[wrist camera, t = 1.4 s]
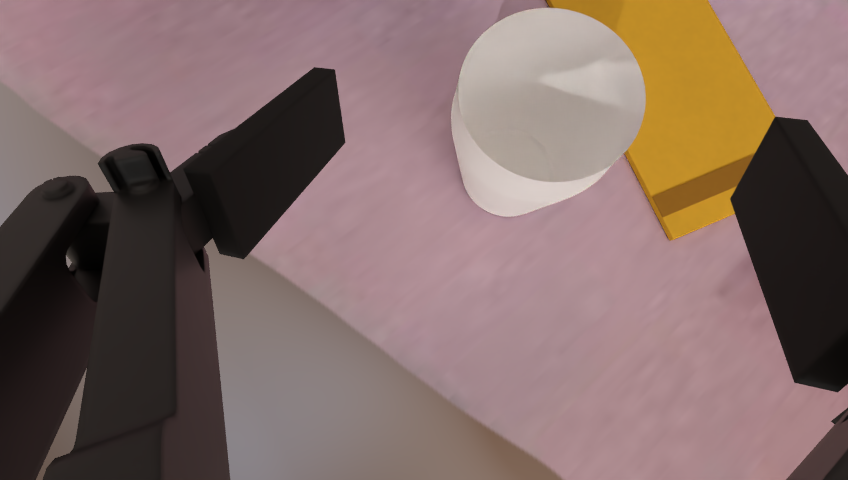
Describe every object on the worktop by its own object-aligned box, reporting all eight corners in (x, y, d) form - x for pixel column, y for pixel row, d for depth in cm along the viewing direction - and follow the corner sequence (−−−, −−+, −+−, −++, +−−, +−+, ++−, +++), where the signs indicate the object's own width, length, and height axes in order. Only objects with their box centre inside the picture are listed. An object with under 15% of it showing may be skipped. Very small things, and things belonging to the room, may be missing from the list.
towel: (516, -56, 36) (518, -64, 35) (640, -103, 36) (644, -112, 35) (669, 240, 31) (674, 239, 31) (806, 183, 32) (814, 180, 31)
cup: (531, 95, 33) (587, -25, 22) (592, 199, 32) (687, 132, 20) (423, 146, 33) (420, 52, 21) (480, 255, 31) (511, 220, 20)
